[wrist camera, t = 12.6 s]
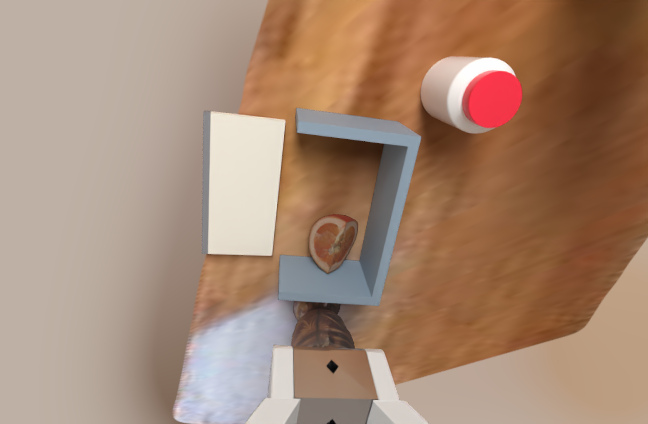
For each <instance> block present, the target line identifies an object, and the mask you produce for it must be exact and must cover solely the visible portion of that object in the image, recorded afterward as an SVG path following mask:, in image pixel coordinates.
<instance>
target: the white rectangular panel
mask: <svg viewBox="0 0 648 424" xmlns="http://www.w3.org/2000/svg"><path fill="white" fill-rule="evenodd" d="M203 117H204V118H203V119H204V120H203V121H204V122H203V200H202V201H203V202H202V203H203V206H202V254H229V255H262V256H272V250H273V240H274V230H275V220H276V210H277V200H278V190H279V180H280V170H281V160H282V150H283V141H284V131H285V120H283V119H274V118H265V117H257V116H248V115H239V114H230V113H222V112H212V111H204V115H203Z"/></svg>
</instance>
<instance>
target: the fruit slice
mask: <svg viewBox="0 0 648 424" xmlns="http://www.w3.org/2000/svg"><path fill="white" fill-rule="evenodd" d="M357 232H358V223H357V221H356V220H354V219H352V218H350V217H348V216H345V215H339V214H332V215H328V216H325V217H322V218H320V219H319V220H318V221H317V222H316V223H315V224H314V225H313V227H312V229H311V232H310V235H309V249H310V253H311V256H312V257H313V259H314V261H315V262H316V263H317V265H318V266H319V267H320V268H321V269H322V270H324V271H325V272H326V273H328V274H329V273H330V272H332V271H334V270H336V269H338V268H339V267H340V265H341V264H342V263H343V261H344V259H345V258H346V256H347V254H348V253H349V251H350V249H351V247H352V245H353V243H354V241H355V238H356V236H357Z"/></svg>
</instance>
